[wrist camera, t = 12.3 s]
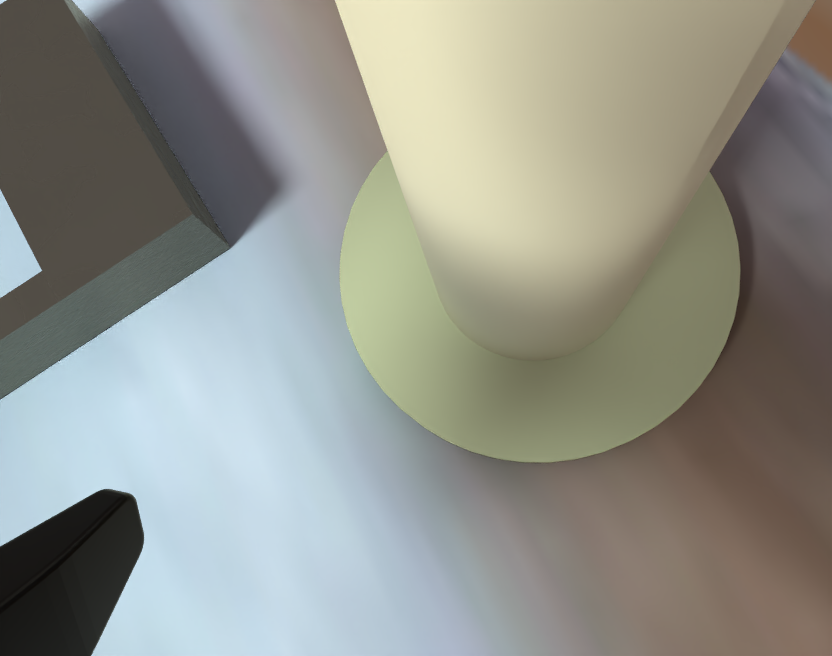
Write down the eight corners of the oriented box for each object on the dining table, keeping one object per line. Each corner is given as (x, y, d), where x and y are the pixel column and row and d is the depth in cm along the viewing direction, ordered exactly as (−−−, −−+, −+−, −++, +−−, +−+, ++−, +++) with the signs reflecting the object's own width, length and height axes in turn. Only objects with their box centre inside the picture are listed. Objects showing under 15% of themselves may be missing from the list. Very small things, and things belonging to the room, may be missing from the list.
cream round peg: (441, 369, 18) (216, -52, 4) (426, 184, 19) (216, -625, 5) (647, 350, 17) (1191, -206, 3) (619, 161, 18) (943, -804, 5)
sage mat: (480, 542, 17) (479, 545, 16) (283, 232, 20) (271, 218, 19) (813, 318, 18) (830, 308, 17) (574, 40, 20) (578, 17, 19)
